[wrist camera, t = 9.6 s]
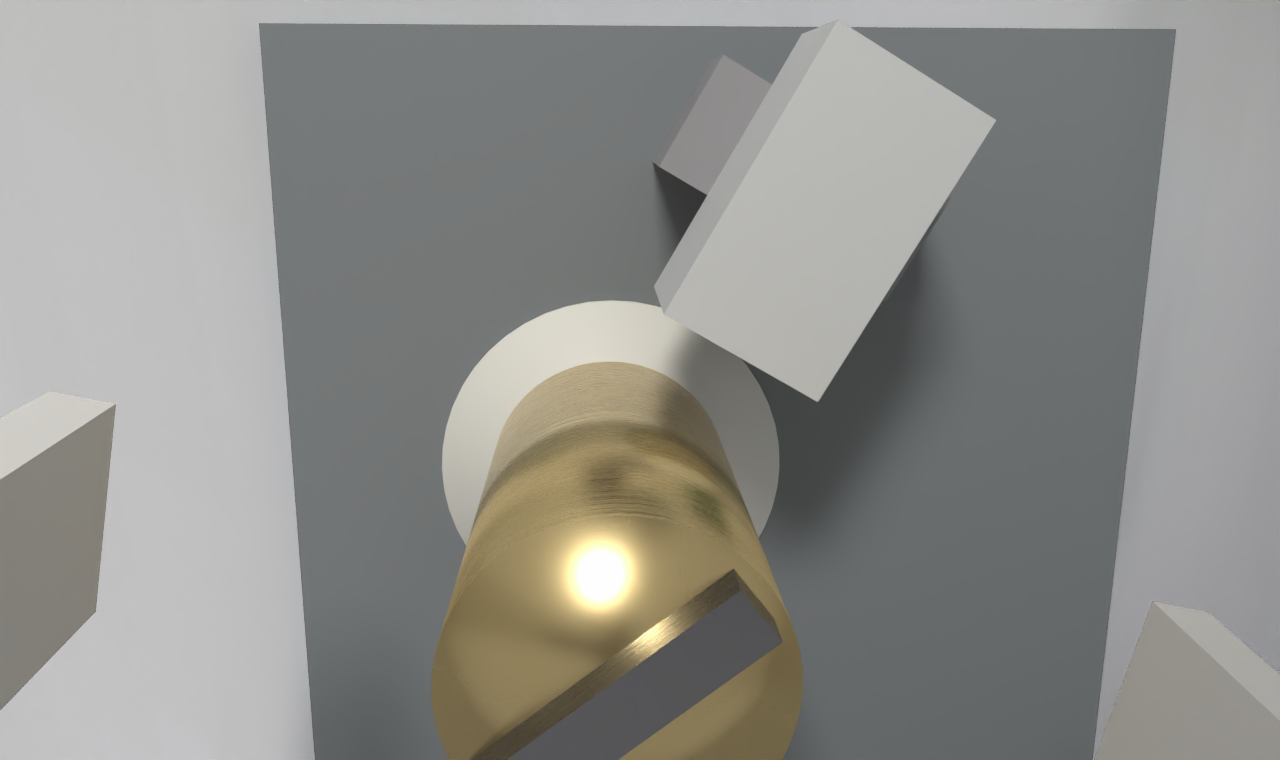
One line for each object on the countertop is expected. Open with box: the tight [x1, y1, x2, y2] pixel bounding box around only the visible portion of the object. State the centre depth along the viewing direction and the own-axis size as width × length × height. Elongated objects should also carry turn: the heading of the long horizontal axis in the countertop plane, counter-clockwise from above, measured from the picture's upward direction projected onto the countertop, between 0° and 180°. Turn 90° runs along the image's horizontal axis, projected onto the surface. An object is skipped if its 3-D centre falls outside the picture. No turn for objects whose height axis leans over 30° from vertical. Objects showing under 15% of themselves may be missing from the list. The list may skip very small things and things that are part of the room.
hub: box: [431, 361, 803, 760], centre depth 16 cm, size 4×4×9 cm
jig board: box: [259, 20, 1176, 760], centre depth 19 cm, size 16×16×6 cm
